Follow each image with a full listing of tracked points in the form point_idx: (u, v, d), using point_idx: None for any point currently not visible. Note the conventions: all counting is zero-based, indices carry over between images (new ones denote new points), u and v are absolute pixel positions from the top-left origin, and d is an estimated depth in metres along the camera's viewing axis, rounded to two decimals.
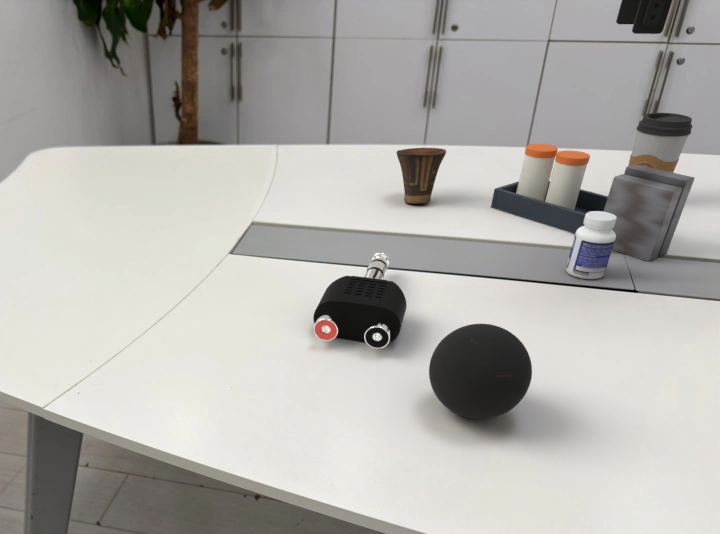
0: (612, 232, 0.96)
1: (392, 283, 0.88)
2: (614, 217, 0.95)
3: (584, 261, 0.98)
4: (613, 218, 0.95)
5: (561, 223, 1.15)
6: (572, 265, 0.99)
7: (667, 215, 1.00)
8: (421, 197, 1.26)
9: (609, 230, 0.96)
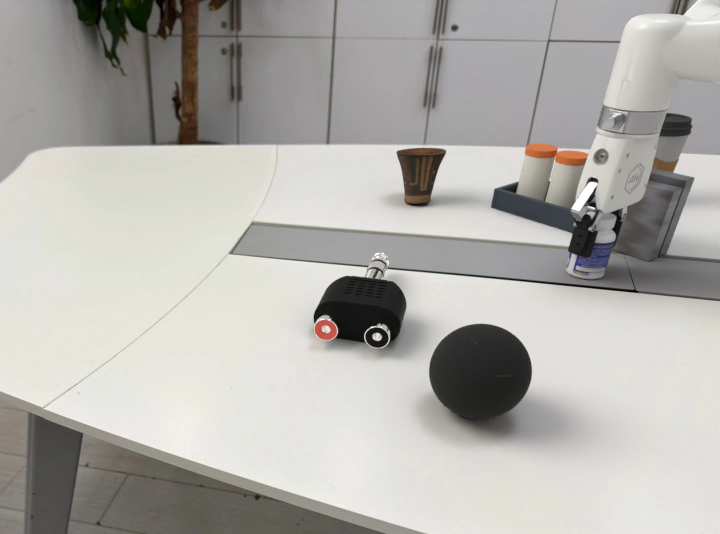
0: (612, 232, 0.96)
1: (392, 283, 0.88)
2: (614, 217, 0.95)
3: (584, 261, 0.98)
4: (613, 218, 0.95)
5: (561, 223, 1.15)
6: (572, 265, 0.99)
7: (667, 215, 1.00)
8: (421, 197, 1.26)
9: (609, 230, 0.96)
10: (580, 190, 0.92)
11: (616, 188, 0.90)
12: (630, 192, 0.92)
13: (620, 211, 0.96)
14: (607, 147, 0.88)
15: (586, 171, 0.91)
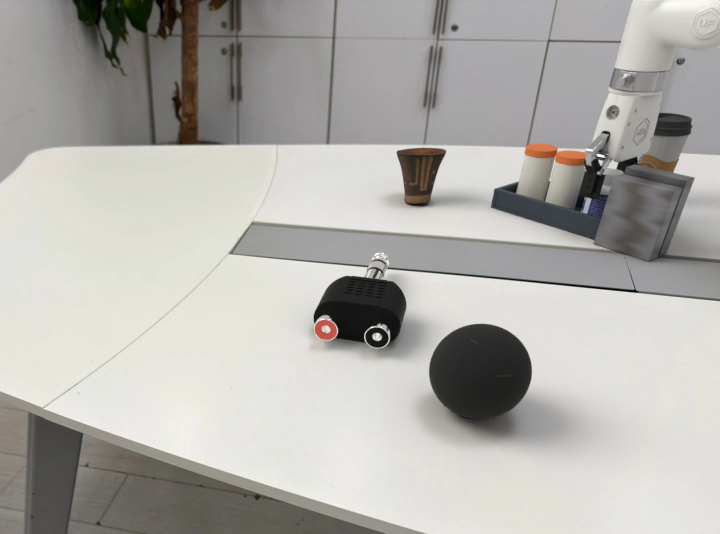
0: None
1: (392, 283, 0.88)
2: (621, 172, 1.10)
3: (595, 211, 1.13)
4: (620, 173, 1.10)
5: (561, 223, 1.15)
6: None
7: (667, 215, 1.00)
8: (421, 197, 1.26)
9: None
10: None
11: (626, 140, 1.04)
12: (638, 144, 1.06)
13: (635, 157, 1.11)
14: (618, 104, 1.03)
15: (600, 126, 1.06)
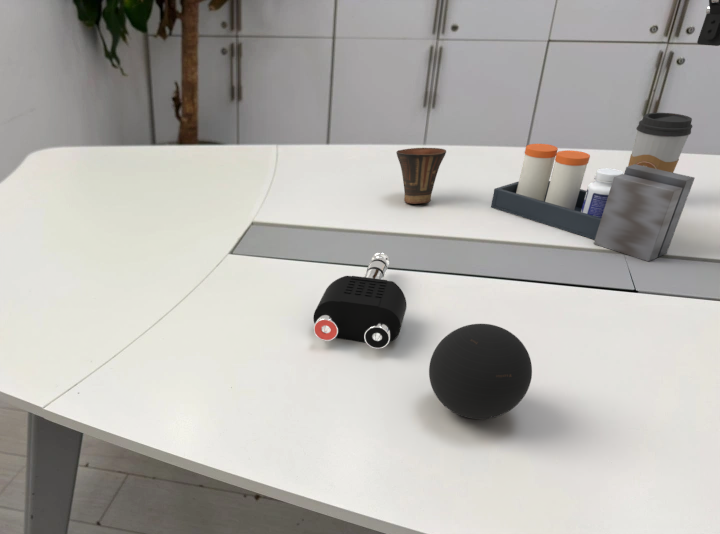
0: None
1: (392, 283, 0.88)
2: (621, 172, 1.10)
3: (595, 211, 1.13)
4: (620, 173, 1.10)
5: (561, 223, 1.15)
6: None
7: (667, 215, 1.00)
8: (421, 197, 1.26)
9: None
10: None
11: None
12: None
13: None
14: None
15: None
